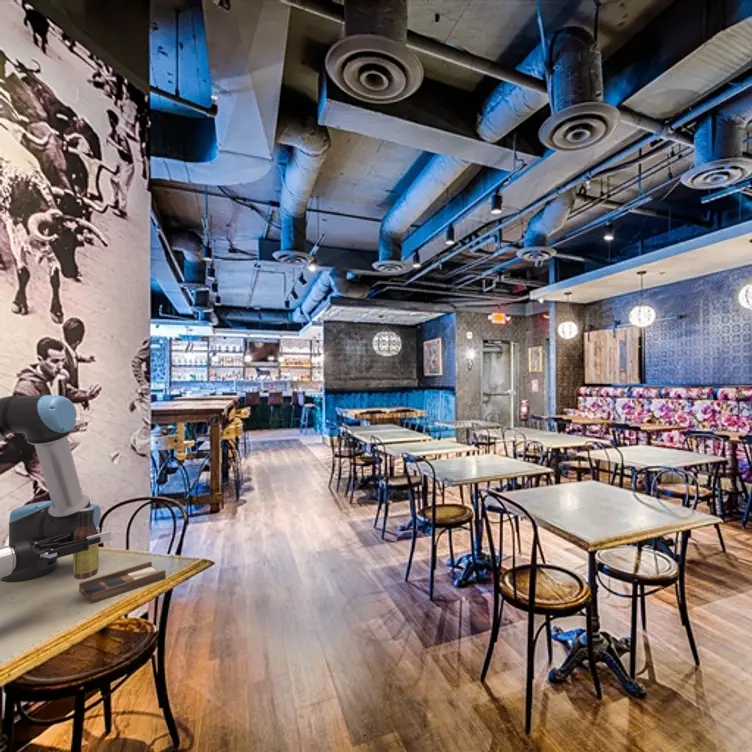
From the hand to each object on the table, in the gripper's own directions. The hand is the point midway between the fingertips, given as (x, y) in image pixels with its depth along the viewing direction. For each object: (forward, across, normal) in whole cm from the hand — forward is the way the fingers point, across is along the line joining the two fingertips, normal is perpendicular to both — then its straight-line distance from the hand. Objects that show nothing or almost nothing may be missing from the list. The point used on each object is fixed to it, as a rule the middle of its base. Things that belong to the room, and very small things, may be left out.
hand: (104, 533), depth 129 cm
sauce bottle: (-5, 0, -11) cm, 12 cm away
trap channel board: (+6, 0, -18) cm, 19 cm away
